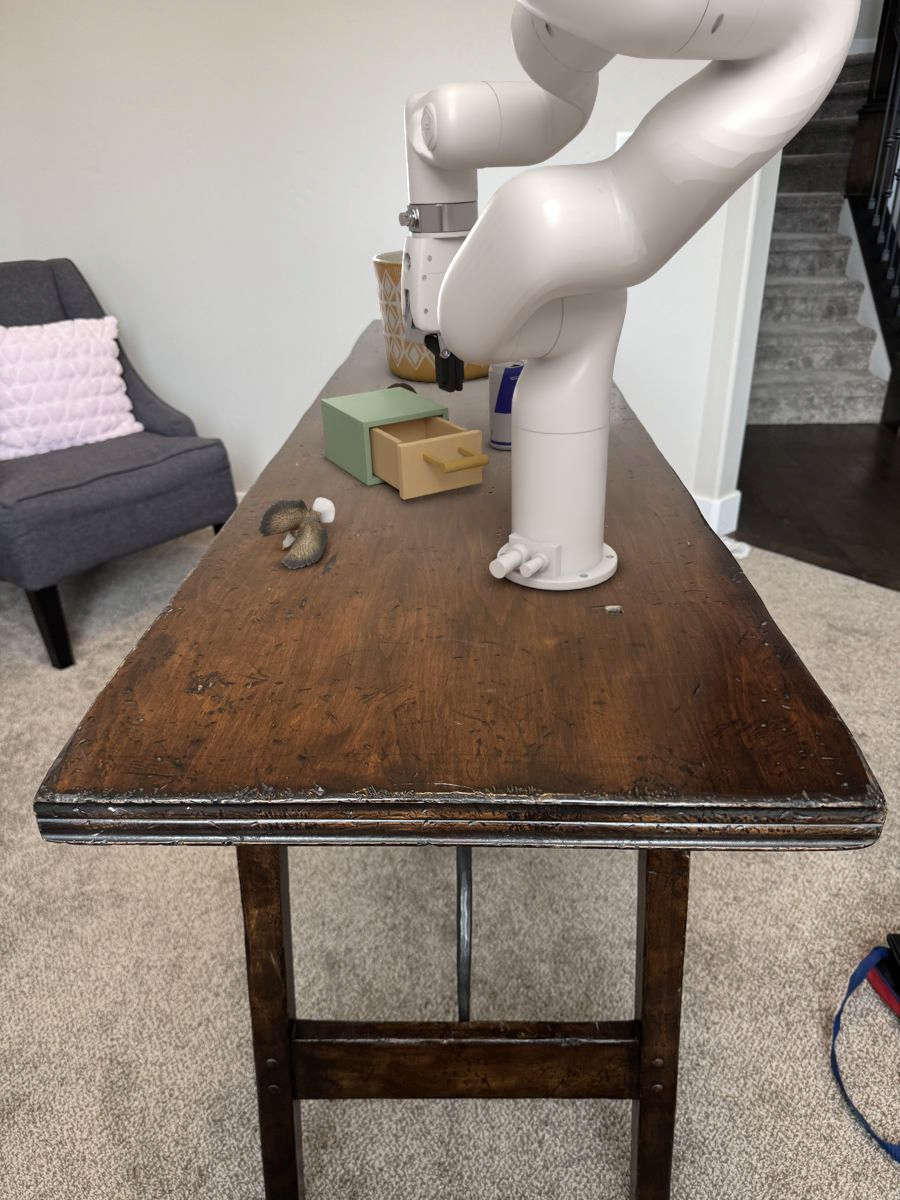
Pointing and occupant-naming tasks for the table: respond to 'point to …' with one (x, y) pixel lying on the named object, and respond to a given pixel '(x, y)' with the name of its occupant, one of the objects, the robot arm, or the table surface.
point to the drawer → (426, 455)
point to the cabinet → (368, 424)
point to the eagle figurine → (299, 528)
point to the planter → (400, 353)
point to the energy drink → (502, 401)
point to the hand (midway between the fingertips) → (450, 389)
